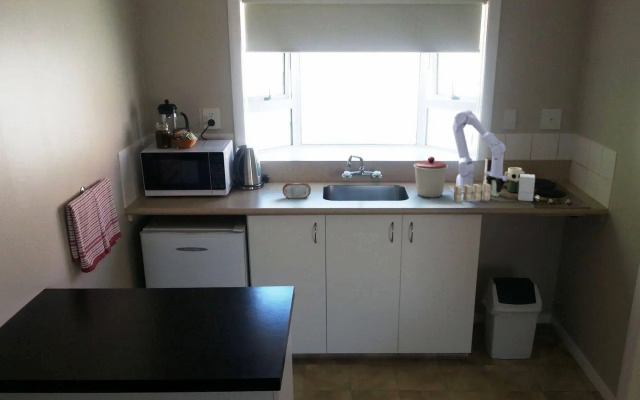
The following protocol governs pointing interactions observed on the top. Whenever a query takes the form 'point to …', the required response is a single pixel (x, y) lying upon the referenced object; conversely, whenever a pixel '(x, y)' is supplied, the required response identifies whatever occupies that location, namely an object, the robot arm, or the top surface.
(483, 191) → the domino
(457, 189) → the domino
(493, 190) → the end domino
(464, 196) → the domino
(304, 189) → the tin
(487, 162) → the coffee box
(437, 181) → the canister
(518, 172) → the character mug
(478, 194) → the domino
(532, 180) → the supplement box
